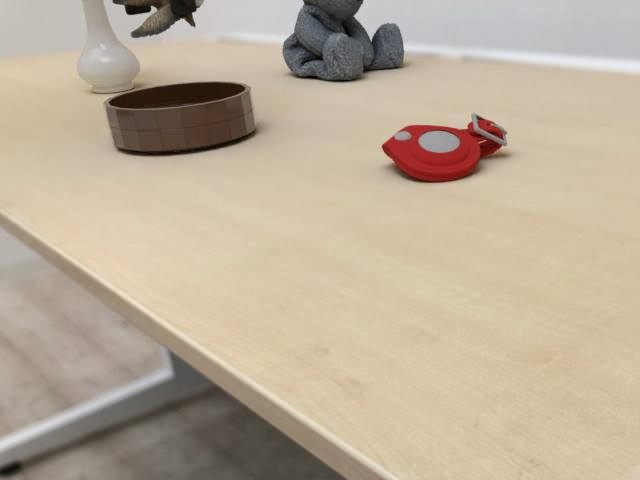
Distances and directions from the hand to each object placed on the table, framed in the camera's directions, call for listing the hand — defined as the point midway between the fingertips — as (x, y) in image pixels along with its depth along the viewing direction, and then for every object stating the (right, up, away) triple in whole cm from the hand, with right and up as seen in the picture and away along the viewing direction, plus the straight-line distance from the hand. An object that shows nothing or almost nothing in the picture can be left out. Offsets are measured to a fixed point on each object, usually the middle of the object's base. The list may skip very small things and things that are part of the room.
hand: (161, 11), depth 87 cm
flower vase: (-21, +3, +39) cm, 45 cm away
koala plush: (+13, +8, +44) cm, 46 cm away
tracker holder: (+32, -19, -10) cm, 39 cm away
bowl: (+1, -12, +7) cm, 14 cm away
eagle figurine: (0, -2, +1) cm, 2 cm away
